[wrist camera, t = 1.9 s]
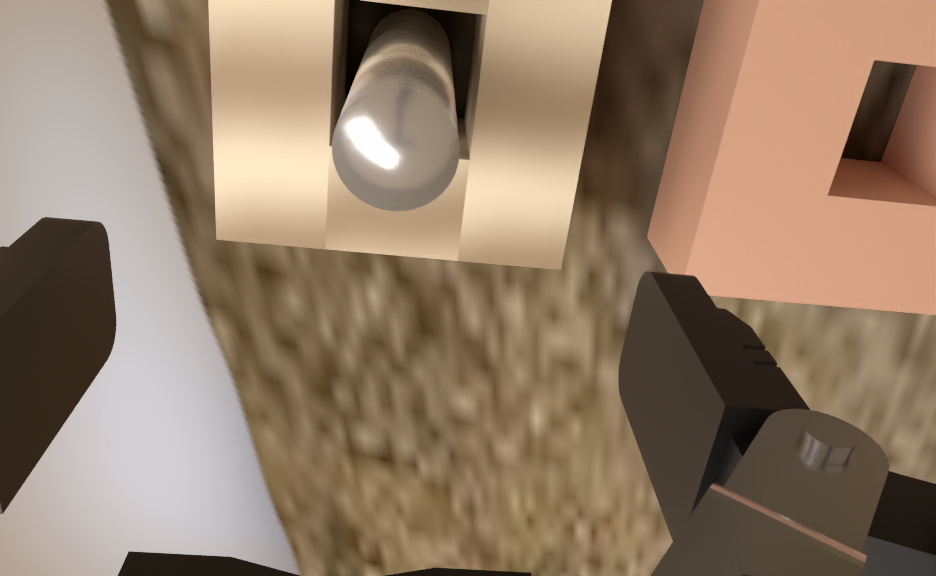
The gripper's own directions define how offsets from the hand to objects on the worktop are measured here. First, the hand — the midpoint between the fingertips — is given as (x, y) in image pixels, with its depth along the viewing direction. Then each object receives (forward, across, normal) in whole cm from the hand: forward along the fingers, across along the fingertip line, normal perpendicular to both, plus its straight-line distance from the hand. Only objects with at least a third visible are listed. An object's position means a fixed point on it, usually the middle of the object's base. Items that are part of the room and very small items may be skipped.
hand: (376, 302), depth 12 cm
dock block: (+19, -17, 0) cm, 26 cm away
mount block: (+19, 0, 0) cm, 19 cm away
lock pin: (+19, 0, 0) cm, 19 cm away
